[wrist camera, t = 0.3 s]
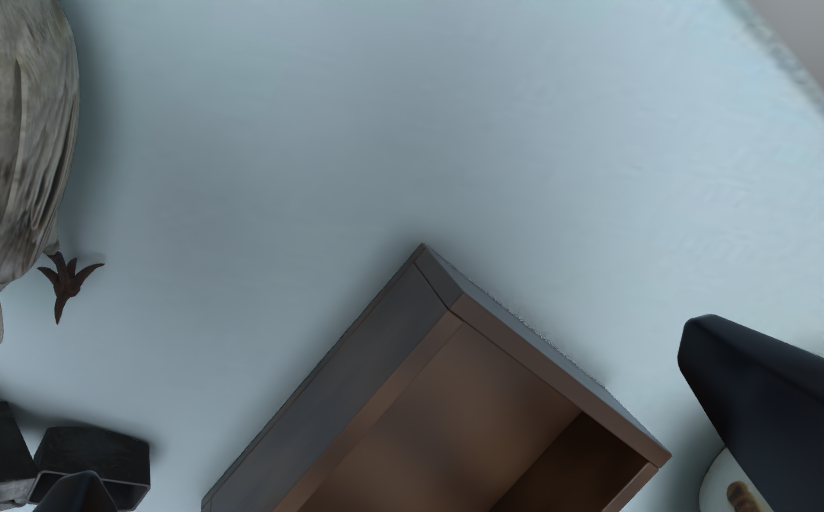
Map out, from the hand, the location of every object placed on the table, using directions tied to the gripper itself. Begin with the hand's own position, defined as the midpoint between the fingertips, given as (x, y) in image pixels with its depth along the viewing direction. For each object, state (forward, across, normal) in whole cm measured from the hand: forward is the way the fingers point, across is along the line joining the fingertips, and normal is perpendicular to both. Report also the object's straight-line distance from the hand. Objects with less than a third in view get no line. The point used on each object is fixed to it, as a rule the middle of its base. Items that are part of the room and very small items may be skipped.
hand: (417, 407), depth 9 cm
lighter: (+13, +12, +10) cm, 20 cm away
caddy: (+12, -2, +15) cm, 19 cm away
